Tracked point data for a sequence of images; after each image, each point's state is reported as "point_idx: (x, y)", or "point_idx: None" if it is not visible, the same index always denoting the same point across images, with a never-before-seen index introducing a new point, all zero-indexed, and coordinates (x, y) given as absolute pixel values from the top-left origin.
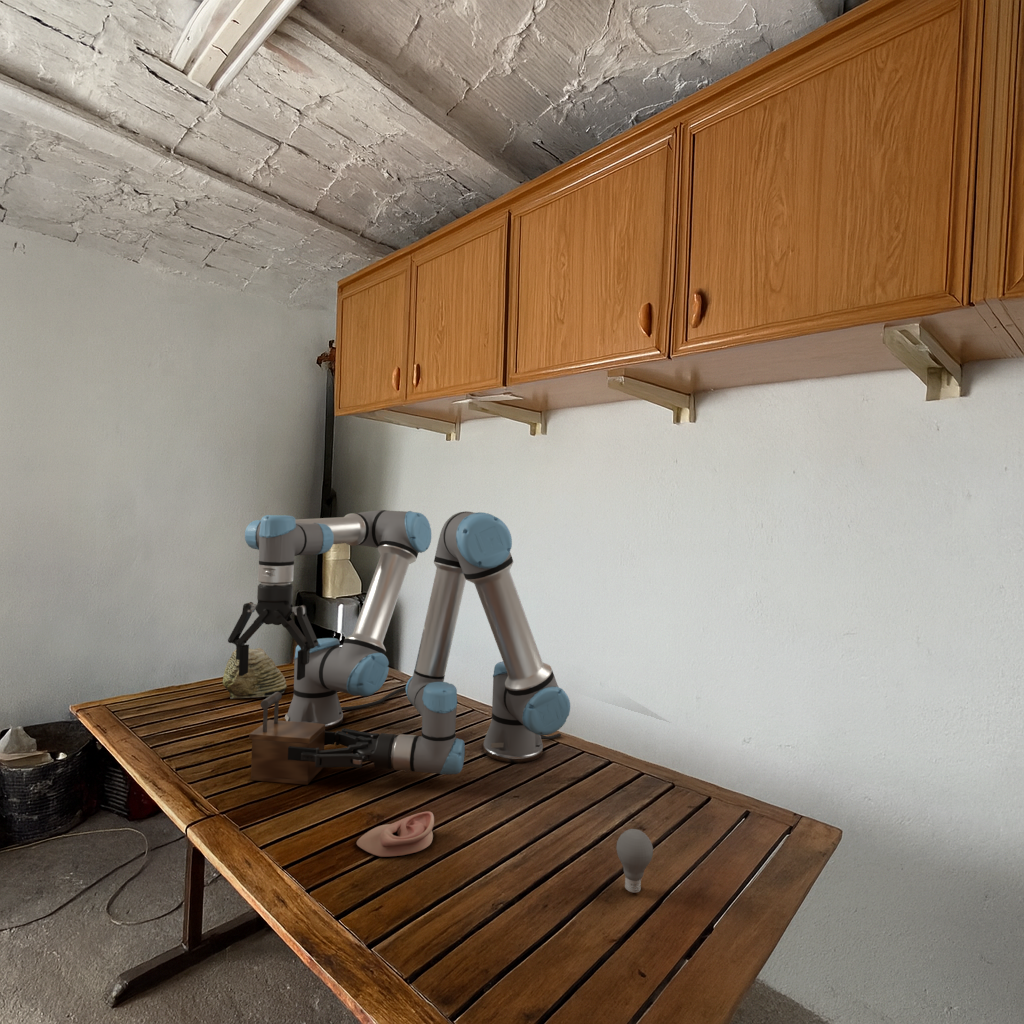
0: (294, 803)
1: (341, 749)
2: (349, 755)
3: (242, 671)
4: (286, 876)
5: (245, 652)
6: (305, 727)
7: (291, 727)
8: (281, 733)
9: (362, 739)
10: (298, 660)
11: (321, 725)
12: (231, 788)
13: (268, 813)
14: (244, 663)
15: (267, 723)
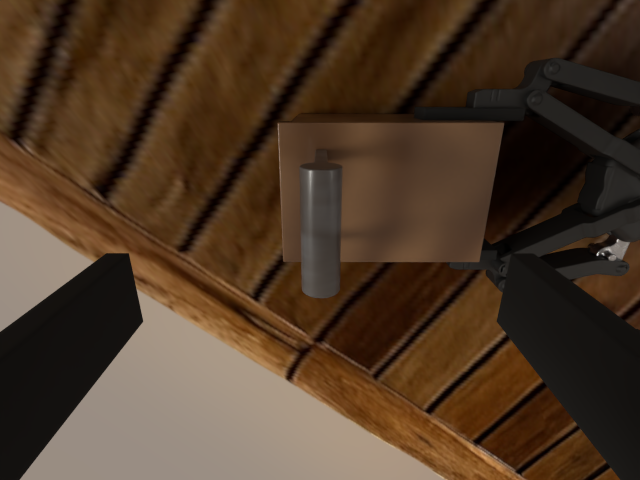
0: (434, 292)
1: (565, 240)
2: (592, 272)
3: (128, 331)
4: (484, 455)
5: (31, 405)
6: (441, 174)
7: (392, 184)
8: (380, 240)
9: (632, 170)
10: (583, 420)
11: (494, 144)
12: (281, 257)
13: (399, 330)
14: (96, 344)
15: (292, 163)
